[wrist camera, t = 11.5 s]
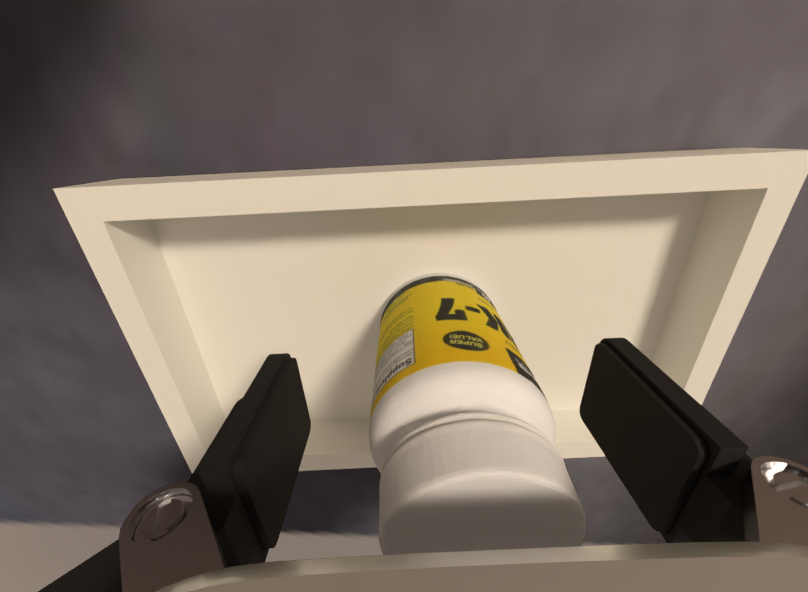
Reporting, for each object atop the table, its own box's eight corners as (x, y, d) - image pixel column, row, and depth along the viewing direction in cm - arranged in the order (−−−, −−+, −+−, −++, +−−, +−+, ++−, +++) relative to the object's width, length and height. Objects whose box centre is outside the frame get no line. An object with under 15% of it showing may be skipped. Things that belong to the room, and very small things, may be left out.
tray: (736, 147, 12) (818, 149, 9) (642, 411, 17) (679, 452, 15) (119, 178, 12) (53, 188, 9) (220, 431, 17) (193, 476, 15)
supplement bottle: (516, 307, 14) (667, 521, 6) (448, 382, 15) (499, 625, 8) (421, 246, 12) (459, 418, 5) (359, 335, 14) (313, 567, 6)
